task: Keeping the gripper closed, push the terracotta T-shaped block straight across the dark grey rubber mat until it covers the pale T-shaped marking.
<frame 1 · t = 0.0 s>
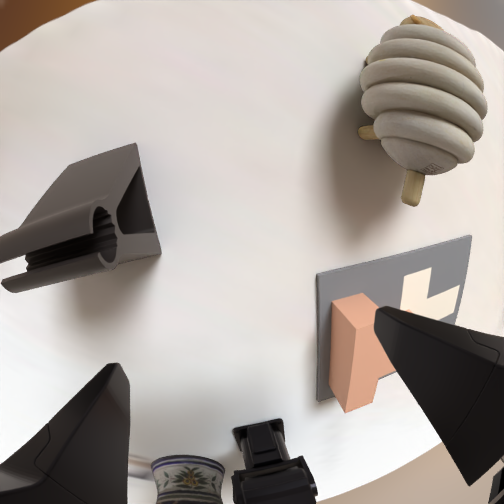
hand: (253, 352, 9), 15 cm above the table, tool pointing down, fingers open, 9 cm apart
t block: (371, 334, 29), resting on mat
toy sheep: (379, 105, 21), on the table
phone stand: (114, 207, 20), on the table
mat: (402, 319, 30), on the table
vase: (187, 470, 34), on the table
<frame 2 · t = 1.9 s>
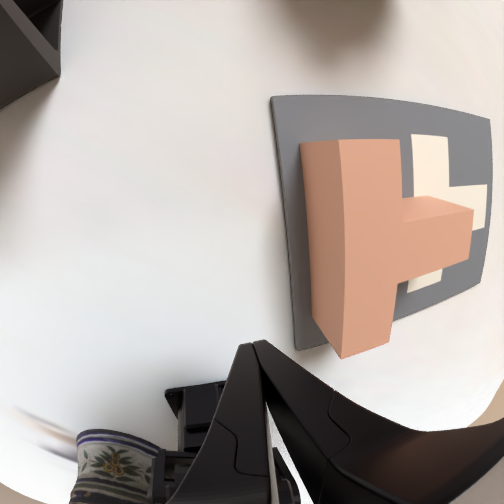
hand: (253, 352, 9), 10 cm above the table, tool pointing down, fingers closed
t block: (375, 226, 18), resting on mat
phone stand: (28, 44, 10), on the table
mat: (420, 215, 19), on the table
vase: (123, 455, 24), on the table
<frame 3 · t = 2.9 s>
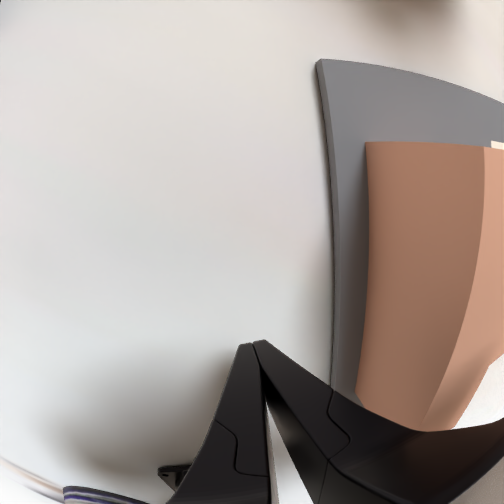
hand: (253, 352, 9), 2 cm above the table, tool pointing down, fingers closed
t block: (449, 269, 11), resting on mat
mat: (489, 248, 12), on the table
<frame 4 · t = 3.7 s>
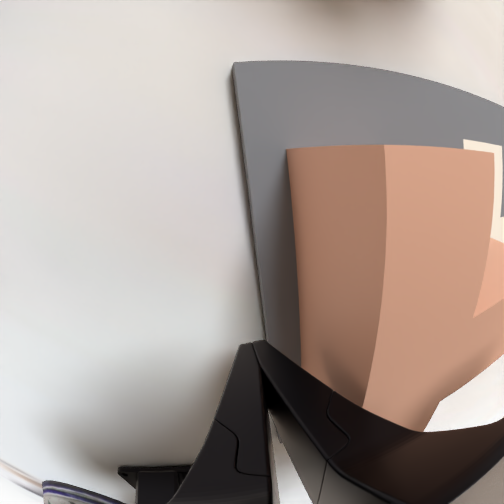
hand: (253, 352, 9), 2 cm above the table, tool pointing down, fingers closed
t block: (407, 285, 11), point 1 cm above the table, touching gripper, mat
mat: (463, 260, 12), on the table
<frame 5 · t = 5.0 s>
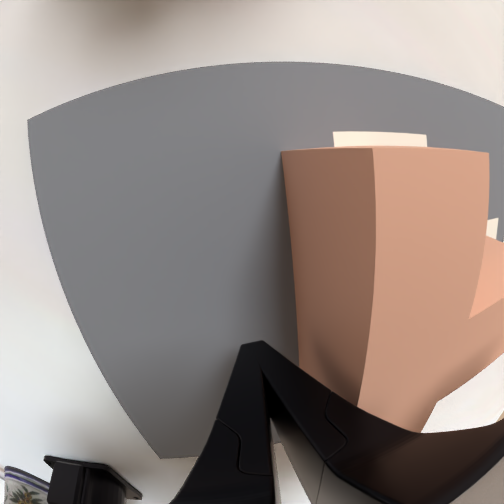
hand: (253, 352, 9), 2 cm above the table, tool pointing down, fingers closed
t block: (405, 285, 11), point 1 cm above the table, touching gripper
mat: (360, 292, 11), on the table
vase: (48, 492, 15), on the table
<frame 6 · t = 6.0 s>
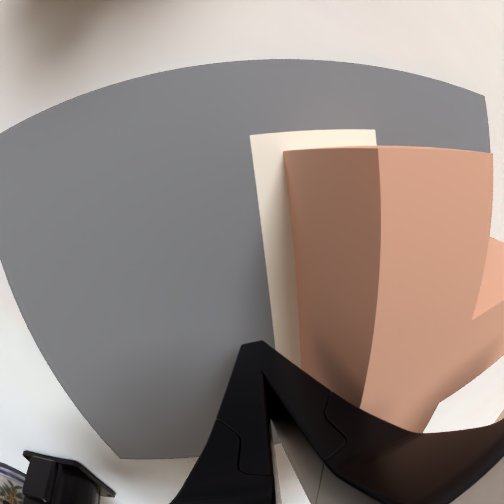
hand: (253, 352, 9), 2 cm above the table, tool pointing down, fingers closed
t block: (407, 286, 11), resting on mat, touching gripper
mat: (300, 307, 11), on the table
vase: (34, 487, 15), on the table
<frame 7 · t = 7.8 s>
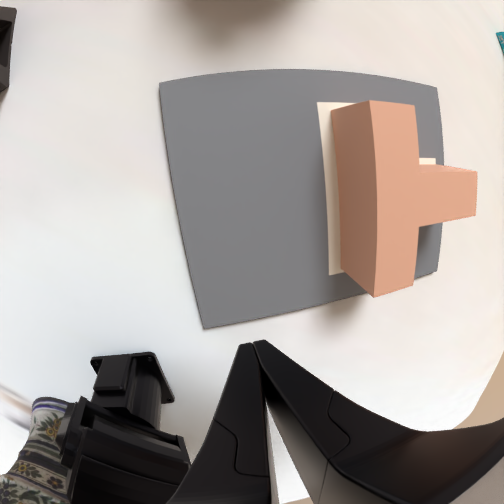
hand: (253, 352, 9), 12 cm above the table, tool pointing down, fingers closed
t block: (394, 186, 20), resting on mat
mat: (338, 189, 20), on the table
vase: (73, 427, 24), on the table
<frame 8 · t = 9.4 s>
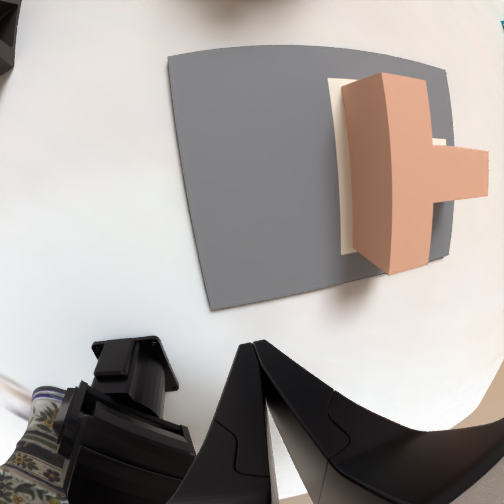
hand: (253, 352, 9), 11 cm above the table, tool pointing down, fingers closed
t block: (405, 165, 19), resting on mat
mat: (349, 166, 19), on the table
vase: (74, 418, 24), on the table, touching arm
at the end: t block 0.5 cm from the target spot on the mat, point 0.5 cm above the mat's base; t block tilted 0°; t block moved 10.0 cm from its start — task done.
